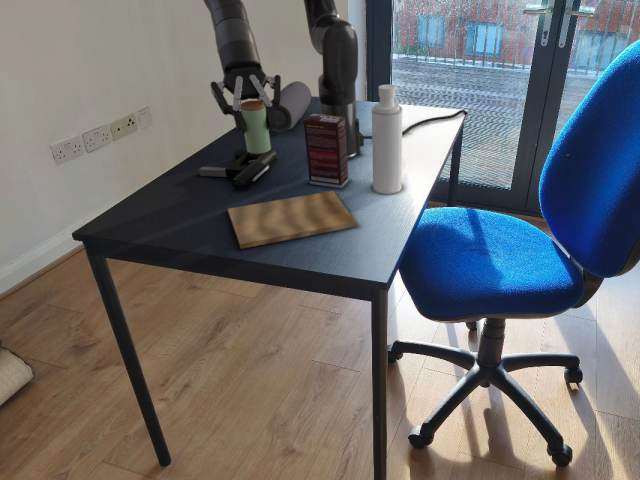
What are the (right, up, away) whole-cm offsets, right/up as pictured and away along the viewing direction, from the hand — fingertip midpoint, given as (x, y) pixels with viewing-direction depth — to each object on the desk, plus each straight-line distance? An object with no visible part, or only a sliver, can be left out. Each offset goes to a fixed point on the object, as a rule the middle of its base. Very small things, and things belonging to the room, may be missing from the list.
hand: (257, 129), depth 107 cm
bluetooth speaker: (-4, +19, +61) cm, 64 cm away
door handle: (-12, -2, +32) cm, 35 cm away
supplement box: (+11, -5, +27) cm, 30 cm away
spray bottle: (+25, -7, +24) cm, 36 cm away
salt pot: (-1, -3, +4) cm, 5 cm away
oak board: (+4, -16, +12) cm, 20 cm away
